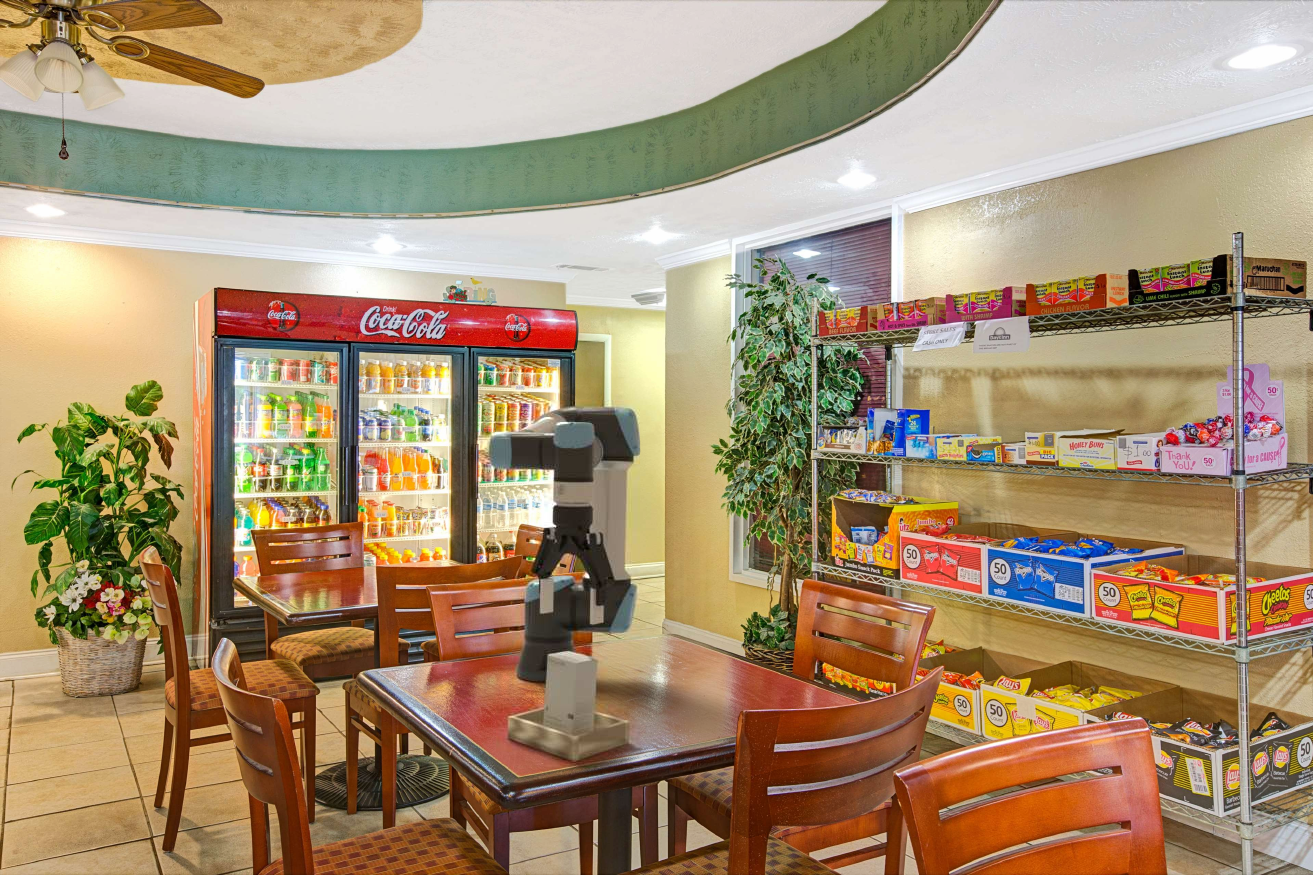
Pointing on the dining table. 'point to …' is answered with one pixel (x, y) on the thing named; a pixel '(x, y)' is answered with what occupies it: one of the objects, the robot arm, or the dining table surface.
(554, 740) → the tray
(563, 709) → the skincare box
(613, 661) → the dining table surface
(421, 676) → the dining table surface
